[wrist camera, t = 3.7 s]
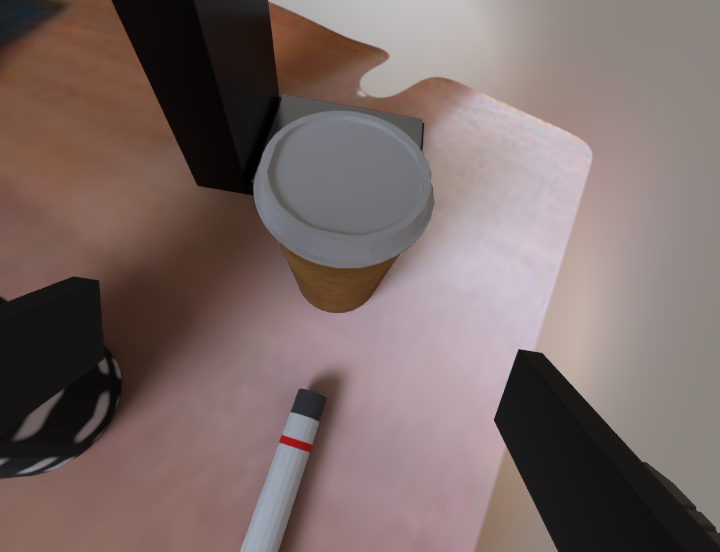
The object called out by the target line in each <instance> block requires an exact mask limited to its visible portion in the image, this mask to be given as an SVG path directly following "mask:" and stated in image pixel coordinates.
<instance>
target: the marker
mask: <svg viewBox="0 0 720 552" xmlns="http://www.w3.org/2000/svg"><path fill="white" fill-rule="evenodd" d="M325 401H326V397H325V396H323V395H321V394H318V393H315V392H313V391H309V390H305V389H299V391H298V393H297V396H296V399H295V402H294V405H293V407H292V410H291V412H290V414H289V417H288V419H287V422H286V425H285V428H284V430H283V433H282V436H281V439H280V441H279V444H278V447H277V450H276V453H275V455H274V458H273V461H272V464H271V466H270V469H269V472H268V475H267V478H266V480H265V483H264V486H263V489H262V491H261V494H260V497H259V500H258V503H257V505H256V508H255V511H254V514H253V516H252V519H251V522H250V525H249V528H248V530H247V533H246V536H245V539H244V541H243V544H242V547H241V550H240V552H278V551H279V548H280V545H281V542H282V538H283V535H284V532H285V529H286V526H287V523H288V520H289V517H290V513H291V510H292V507H293V504H294V501H295V498H296V495H297V491H298V488H299V485H300V482H301V479H302V476H303V473H304V469H305V466H306V463H307V460H308V457H309V454H310V451H311V447H312V444H313V441H314V438H315V435H316V432H317V429H318V425H319V420H320V417H321V414H322V411H323V408H324V405H325Z"/></svg>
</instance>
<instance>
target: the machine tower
mask: <svg viewBox="0 0 720 552" xmlns="http://www.w3.org/2000/svg"><path fill="white" fill-rule="evenodd" d="M112 2H113V5H114V7H115V9H116V11H117V13H118V15H119V18H120V20H121V22H122V24H123V26H124V28H125V30H126V33H127V35H128V37H129V39H130V41H131V43H132V46H133V48H134V50H135V52H136V54H137V56H138V58H139V61H140V63H141V65H142V67H143V69H144V71H145V74H146V76H147V78H148V80H149V82H150V84H151V86H152V89H153V91H154V93H155V95H156V97H157V99H158V102H159V104H160V106H161V108H162V110H163V112H164V114H165V117H166V119H167V121H168V123H169V125H170V127H171V130H172V132H173V134H174V136H175V138H176V140H177V142H178V145H179V147H180V149H181V151H182V153H183V155H184V158H185V160H186V162H187V164H188V166H189V168H190V170H191V173H192V175H193V177H194V179H195V181H196V183H197V185H198V186H202V187H208V188H214V189H220V190H226V191H232V192H237V193H243V194H248V190H247V185H248V182H249V179H250V176H251V174H252V171H253V168H254V165H255V163H256V160H257V157H258V155H259V152H260V149H261V146H262V144H263V141H264V138H265V135H266V133H267V130H268V127H269V124H270V122H271V119H272V116H273V114H274V111H275V108H276V105H277V103H278V100H279V91H278V82H277V74H276V65H275V57H274V48H273V39H272V31H271V22H270V14H269V5H268V0H112Z"/></svg>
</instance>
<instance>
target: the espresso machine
mask: <svg viewBox="0 0 720 552" xmlns="http://www.w3.org/2000/svg"><path fill="white" fill-rule="evenodd" d="M327 111H352V112H359V113H363V114H367V115H371V116H374V117H377V118H380V119H383V120H385V121H387V122H389V123H391V124H393V125H395V126H396V127H398V128H399V129H400V130H402V131H403V132H405V133H406V134H407V135H408V136H409V137H410V138H411V139H412V140H413V141H414V142H415V143H417V145H418V146H419V148H420V150H421V151H422V148H423V134H424V123H423V119H419V118H413V117H408V116H402V115H397V114H391V113H386V112H380V111H375V110H369V109H364V108H358V107H353V106H347V105H341V104H336V103H330V102H325V101H319V100H314V99H308V98H303V97H297V96H292V95H286V94H283V96H282V97H279V100H278V103H277V105H276V108H275V111H274V114H273V116H272V119H271V122H270V124H269V127H268V130H267V133H266V135H265V138H264V141H263V144H262V146H261V149H260V152H259V155H258V157H257V160H256V163H255V165H254V168H253V171H252V174H251V176H250V179H249V182H248V185H247V190H248V194H250V195H254V189H253V187H254V179H255V175H256V172H257V169H258V166H259V164H260V162H261V158H262V155H263V152H264V150H265V148H266V146H267V144H268V143H269V142H270V140H271V139H272V138H273V137H274V135H275V134H276V133H278V132H279V131H280V130H281V129H282V128H284V127H285V126H286V125H288V124H290V123H291V122H293V121H295V120H297V119H300V118H302V117H304V116H308V115H312V114H315V113H319V112H327Z"/></svg>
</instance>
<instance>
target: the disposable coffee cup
mask: <svg viewBox="0 0 720 552" xmlns="http://www.w3.org/2000/svg"><path fill="white" fill-rule="evenodd" d="M253 189H254V201H255V204H256V208H257V211H258V213H259V216H260V218H261V220H262V222H263V224H264V225H265V227H266V228H267V229H268V230H269V232H270V233H271V234H272V235H273V236H274V238H275V239H277V240H278V241H279V243H280V245H281V248H282V249H283V252H284V254H285V257H286V258H287V261H288V263H289V265H290V268H291V270H292V272H293V274H294V276H295V279H296V281H297V283H298V285H299V288H300V290H301V292H302V294H303V296H304V297H305V298H306V299H307V300H308V301H309V302H310V303H311V304H312V305H313V306H315V307H317V308H319V309H321V310H324V311H327V312H333V313H343V312H348V311H352V310H354V309H356V308H358V307H360V306H361V305H363V304H364V303H365V302H366V301H367V300H368V299H369V298H370V296H371V295H372V293H373V292H374V291H375V289H376V288H377V286H378V285H379V283H380V282H381V280H382V279H383V278H384V276H385V275H386V273H387V272H388V270H389V269H390V268H391V266H392V264H393V263H394V262H395V260H396V259H397V257H398V256H399V255H400V253H402V252H403V251H405V250H406V249H408V248H409V247H410V246H411V245H412V244H413V243H415V242H416V241H417V240H418V239H419V237H420V236H421V235H422V233H423V232H424V230H425V228H426V227H427V225H428V223H429V221H430V219H431V215H432V210H433V206H434V196H433V186H432V183H431V172H430V168H429V164H428V162H427V160H426V158H425V156H424V154H423V153H422V151H421V150H420V148H419V146H418V145H417V143H415V142H414V141H413V140H412V139H411V138H410V137H409V136H408V135H407V134H406V133H405V132H403V131H402V130H400V129H399V128H398V127H396V126H395V125H393V124H391V123H389V122H387V121H385V120H383V119H380V118H377V117H374V116H371V115H367V114H363V113H359V112H352V111H327V112H319V113H315V114H312V115H308V116H304V117H302V118H300V119H297V120H295V121H293V122H291V123H290V124H288V125H286V126H285V127H284V128H282V129H281V130H280V131H279V132H278V133H276V134H275V135H274V137H273V138H272V139H271V140H270V142H269V143H268V144H267V146H266V148H265V150H264V152H263V155H262V158H261V162H260V164H259V166H258V169H257V172H256V175H255V179H254V187H253Z"/></svg>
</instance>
